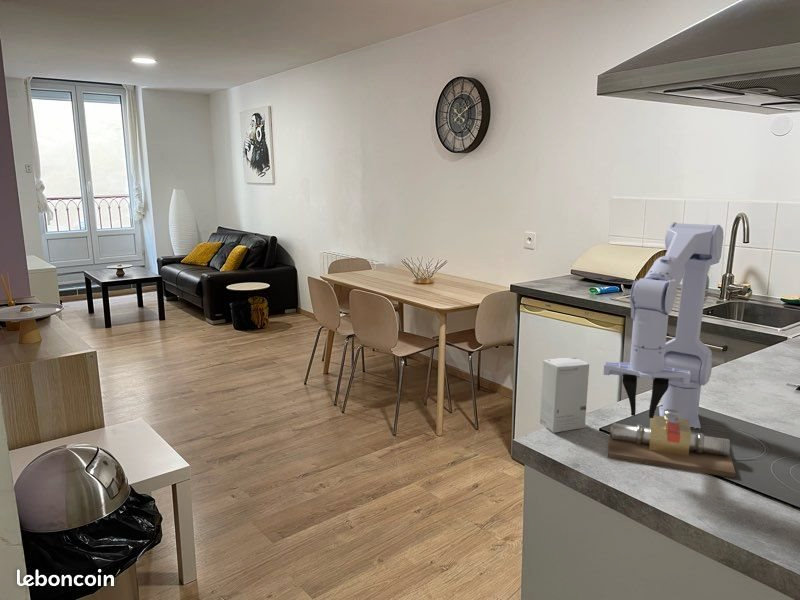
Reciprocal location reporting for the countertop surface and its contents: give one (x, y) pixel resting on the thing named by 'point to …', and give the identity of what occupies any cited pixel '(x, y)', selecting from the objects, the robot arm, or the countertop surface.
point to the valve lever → (672, 425)
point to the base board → (671, 458)
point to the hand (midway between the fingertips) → (642, 414)
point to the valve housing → (659, 442)
